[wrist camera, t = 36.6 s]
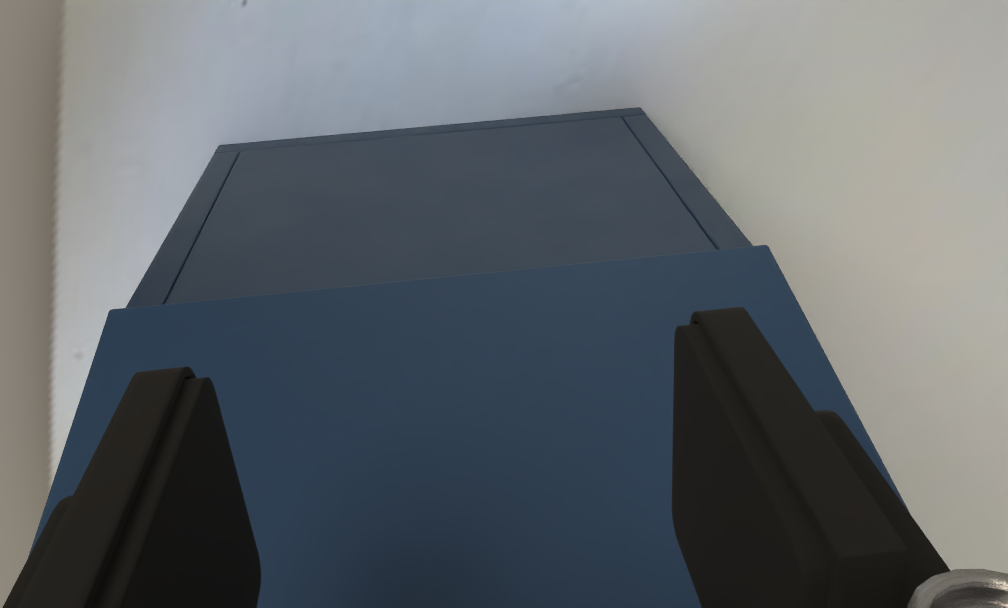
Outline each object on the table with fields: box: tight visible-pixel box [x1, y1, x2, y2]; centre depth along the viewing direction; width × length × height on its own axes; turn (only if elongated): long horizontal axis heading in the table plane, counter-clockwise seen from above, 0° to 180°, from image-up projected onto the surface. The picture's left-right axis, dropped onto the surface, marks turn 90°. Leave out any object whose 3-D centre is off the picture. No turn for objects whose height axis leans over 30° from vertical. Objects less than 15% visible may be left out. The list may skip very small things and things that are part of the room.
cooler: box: [126, 108, 753, 308], centre depth 28 cm, size 13×14×11 cm
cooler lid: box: [28, 245, 909, 608], centre depth 13 cm, size 13×14×5 cm
